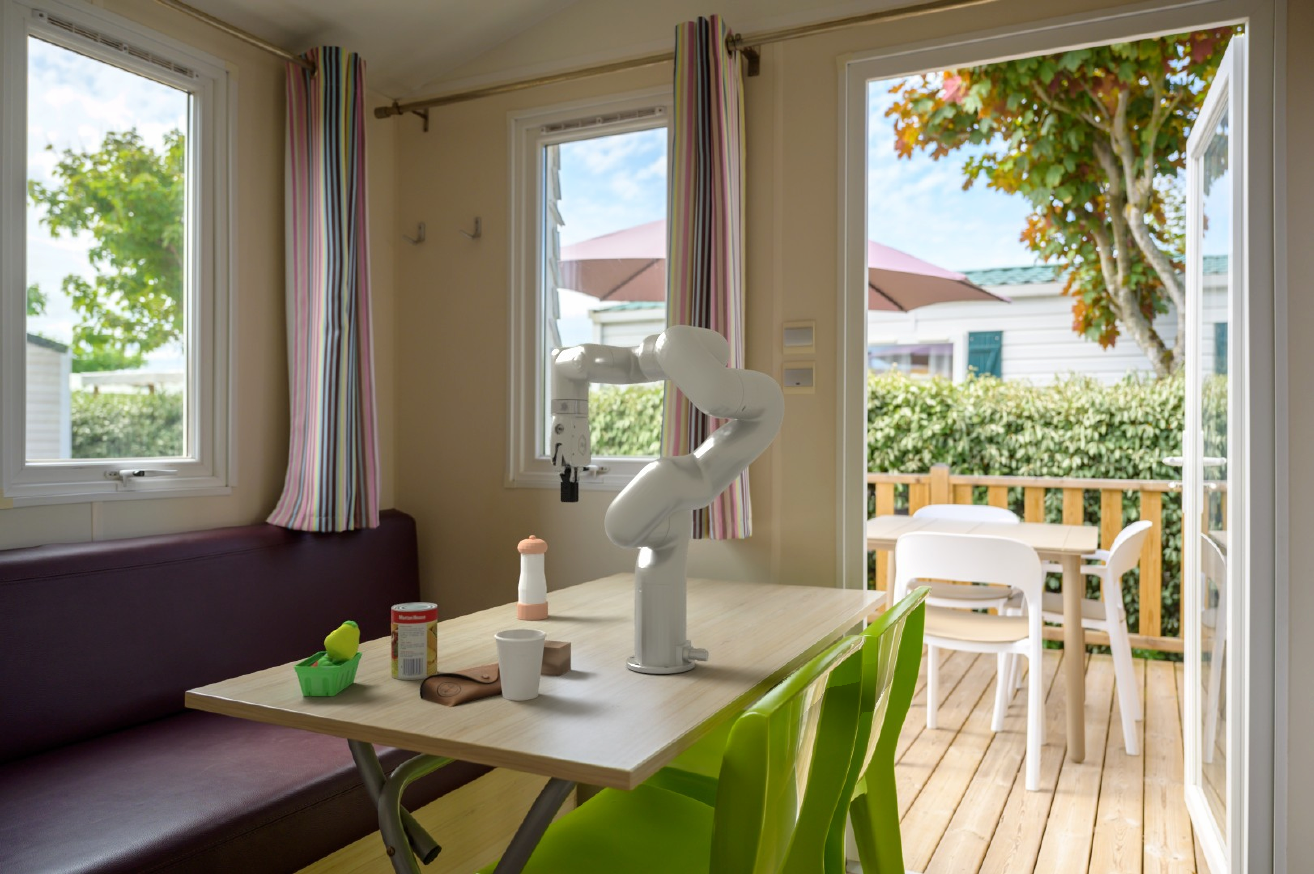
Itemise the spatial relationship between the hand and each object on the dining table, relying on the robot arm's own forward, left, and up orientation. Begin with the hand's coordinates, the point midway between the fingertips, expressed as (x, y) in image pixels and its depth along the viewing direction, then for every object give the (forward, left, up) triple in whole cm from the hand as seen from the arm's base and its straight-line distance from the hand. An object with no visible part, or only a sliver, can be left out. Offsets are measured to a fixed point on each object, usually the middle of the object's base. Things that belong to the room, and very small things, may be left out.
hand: (569, 501), depth 184 cm
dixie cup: (-7, +34, -29) cm, 46 cm away
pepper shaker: (+22, -27, -29) cm, 46 cm away
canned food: (+17, +28, -29) cm, 44 cm away
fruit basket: (+24, +41, -29) cm, 56 cm away
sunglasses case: (0, +34, -30) cm, 45 cm away
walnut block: (-5, +18, -29) cm, 35 cm away
